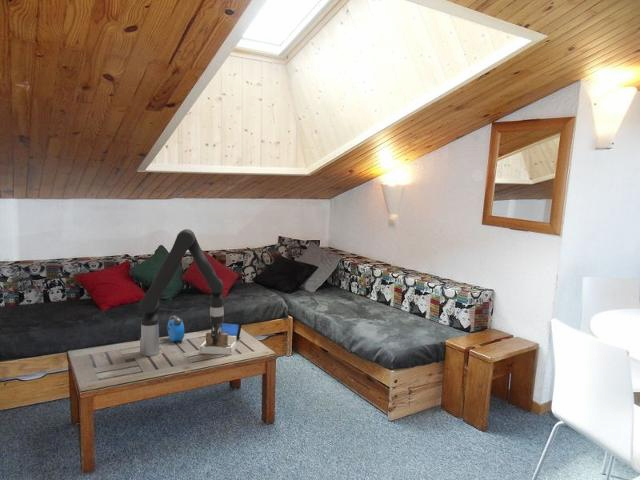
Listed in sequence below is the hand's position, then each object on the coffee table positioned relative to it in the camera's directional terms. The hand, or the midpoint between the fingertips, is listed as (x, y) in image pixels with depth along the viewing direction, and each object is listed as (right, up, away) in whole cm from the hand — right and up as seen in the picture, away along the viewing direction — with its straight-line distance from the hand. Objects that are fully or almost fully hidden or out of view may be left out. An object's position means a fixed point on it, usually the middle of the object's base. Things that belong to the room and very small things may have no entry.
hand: (216, 341), depth 272 cm
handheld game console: (+1, -4, +24) cm, 24 cm away
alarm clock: (-29, -3, +19) cm, 35 cm away
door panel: (0, -5, +1) cm, 5 cm away
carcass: (0, -6, +4) cm, 7 cm away
